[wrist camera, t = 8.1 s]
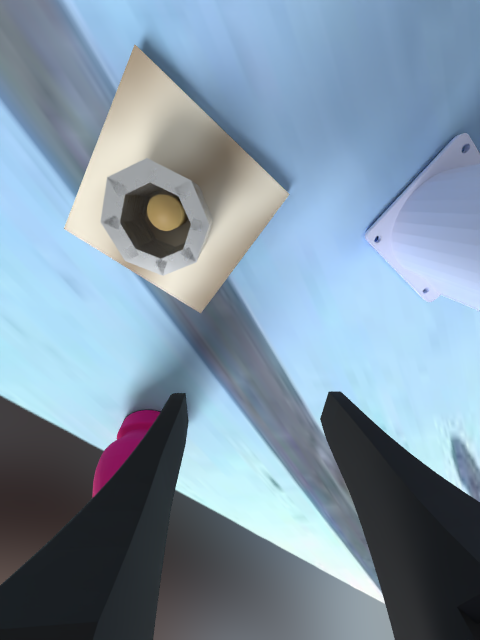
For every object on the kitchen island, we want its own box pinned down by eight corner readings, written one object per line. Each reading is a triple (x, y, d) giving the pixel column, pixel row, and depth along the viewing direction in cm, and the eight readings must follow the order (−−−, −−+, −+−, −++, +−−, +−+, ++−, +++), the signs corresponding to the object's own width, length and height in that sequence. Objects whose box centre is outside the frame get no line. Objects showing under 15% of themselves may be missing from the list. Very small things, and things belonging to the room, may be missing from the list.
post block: (286, 194, 16) (304, 191, 12) (201, 309, 19) (196, 332, 16) (140, 53, 12) (104, -10, 8) (71, 227, 16) (26, 234, 12)
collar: (221, 241, 16) (220, 252, 12) (158, 267, 17) (140, 285, 13) (189, 159, 14) (176, 143, 10) (116, 193, 14) (80, 190, 11)
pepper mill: (114, 440, 27) (-105, 899, 9) (124, 399, 24) (-174, 967, 6) (173, 450, 28) (84, 859, 11) (189, 414, 25) (103, 898, 8)
